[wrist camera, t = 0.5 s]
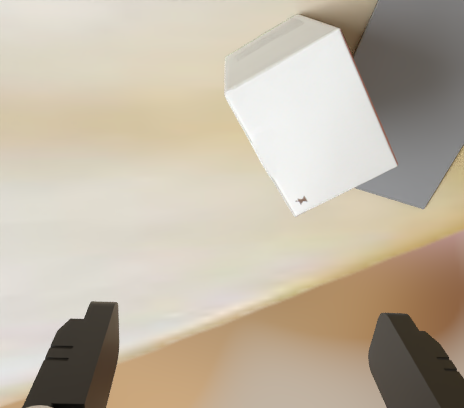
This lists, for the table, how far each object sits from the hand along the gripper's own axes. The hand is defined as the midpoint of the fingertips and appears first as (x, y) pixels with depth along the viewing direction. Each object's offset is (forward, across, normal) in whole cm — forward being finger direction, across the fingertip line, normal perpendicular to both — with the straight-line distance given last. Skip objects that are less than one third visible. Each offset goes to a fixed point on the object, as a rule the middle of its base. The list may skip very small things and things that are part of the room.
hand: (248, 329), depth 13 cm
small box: (+24, -4, -4) cm, 25 cm away
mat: (+24, -15, -4) cm, 28 cm away
